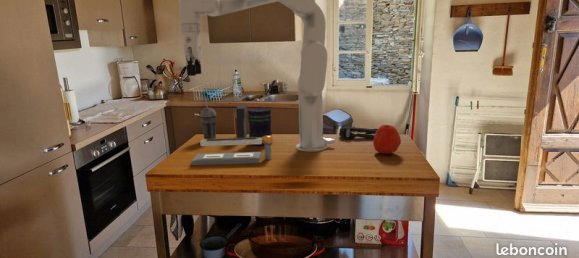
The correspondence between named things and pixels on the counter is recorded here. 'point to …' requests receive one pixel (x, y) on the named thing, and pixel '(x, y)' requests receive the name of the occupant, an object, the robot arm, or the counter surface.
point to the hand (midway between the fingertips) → (194, 74)
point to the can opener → (348, 135)
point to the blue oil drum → (259, 123)
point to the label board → (231, 157)
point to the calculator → (241, 121)
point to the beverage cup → (208, 122)
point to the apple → (386, 139)
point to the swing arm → (236, 141)
